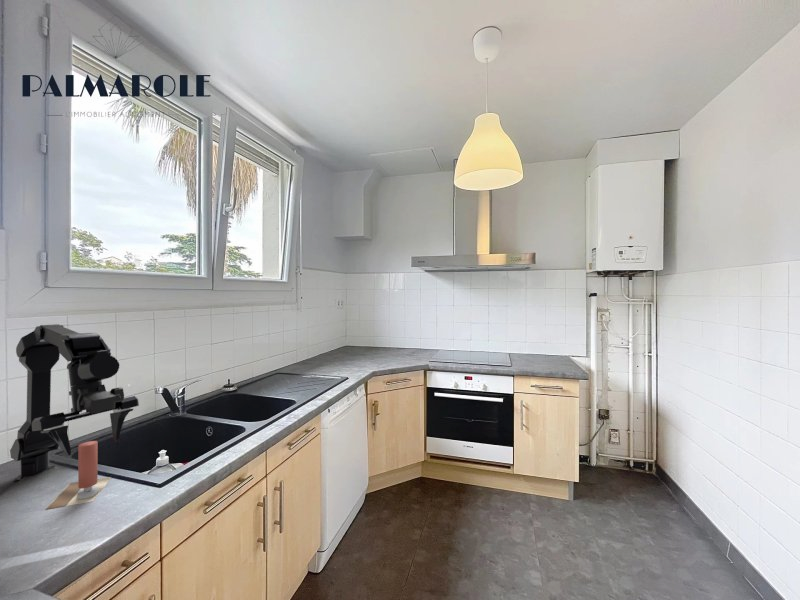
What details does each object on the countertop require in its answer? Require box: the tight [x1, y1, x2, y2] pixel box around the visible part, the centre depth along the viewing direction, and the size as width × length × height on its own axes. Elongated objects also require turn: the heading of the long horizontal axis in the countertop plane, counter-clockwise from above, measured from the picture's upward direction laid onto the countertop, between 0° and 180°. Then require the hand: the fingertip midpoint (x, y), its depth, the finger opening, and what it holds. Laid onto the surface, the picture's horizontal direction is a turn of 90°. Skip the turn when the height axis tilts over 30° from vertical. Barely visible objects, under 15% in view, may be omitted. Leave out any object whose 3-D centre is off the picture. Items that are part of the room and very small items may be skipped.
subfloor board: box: [44, 476, 112, 511], centre depth 88 cm, size 12×9×1 cm
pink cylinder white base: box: [77, 440, 99, 500], centre depth 86 cm, size 4×4×13 cm
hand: (93, 447), depth 82 cm, fingers open, 9 cm apart
